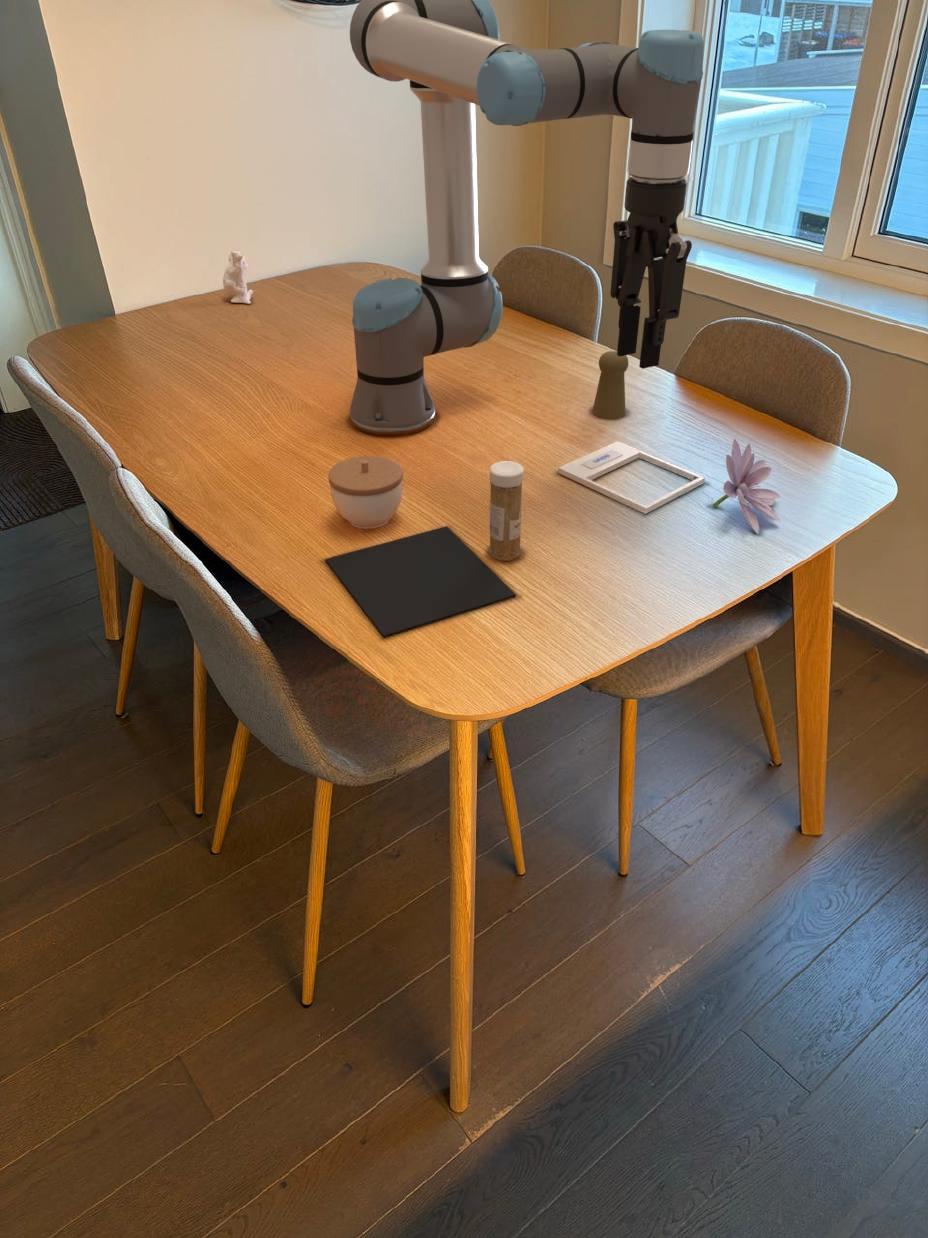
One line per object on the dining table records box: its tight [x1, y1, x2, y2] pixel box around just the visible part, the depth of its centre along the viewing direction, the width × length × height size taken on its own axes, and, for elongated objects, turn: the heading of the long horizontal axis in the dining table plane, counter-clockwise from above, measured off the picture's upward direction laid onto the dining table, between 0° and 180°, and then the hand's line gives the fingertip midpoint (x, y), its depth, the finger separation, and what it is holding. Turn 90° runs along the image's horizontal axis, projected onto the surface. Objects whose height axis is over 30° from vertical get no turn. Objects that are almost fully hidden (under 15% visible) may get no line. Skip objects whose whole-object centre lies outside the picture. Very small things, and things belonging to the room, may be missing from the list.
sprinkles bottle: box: [488, 460, 525, 562], centre depth 127 cm, size 5×5×13 cm
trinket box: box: [327, 455, 404, 530], centre depth 137 cm, size 11×11×9 cm
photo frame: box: [557, 440, 706, 515], centre depth 149 cm, size 15×1×18 cm
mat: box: [324, 525, 517, 639], centre depth 126 cm, size 20×19×1 cm
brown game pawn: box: [592, 350, 630, 420], centre depth 167 cm, size 6×6×11 cm
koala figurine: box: [222, 250, 254, 305], centre depth 220 cm, size 8×7×12 cm
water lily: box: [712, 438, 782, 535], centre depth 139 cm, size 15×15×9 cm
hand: (637, 359), depth 129 cm, fingers open, 4 cm apart
